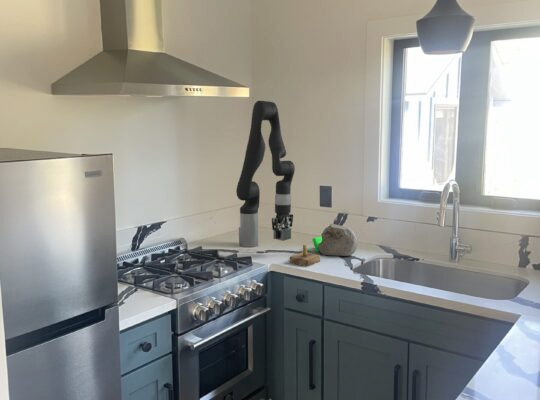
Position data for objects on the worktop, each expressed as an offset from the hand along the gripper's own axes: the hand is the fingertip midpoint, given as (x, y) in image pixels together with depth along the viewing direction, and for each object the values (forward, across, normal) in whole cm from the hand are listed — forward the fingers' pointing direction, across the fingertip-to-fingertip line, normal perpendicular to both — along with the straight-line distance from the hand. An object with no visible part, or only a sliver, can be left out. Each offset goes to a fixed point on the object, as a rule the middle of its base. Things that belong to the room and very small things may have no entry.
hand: (282, 237), depth 261 cm
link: (+1, 0, 0) cm, 1 cm away
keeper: (+9, +3, +16) cm, 18 cm away
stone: (+9, -17, +21) cm, 28 cm away
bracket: (+9, -26, +10) cm, 29 cm away
